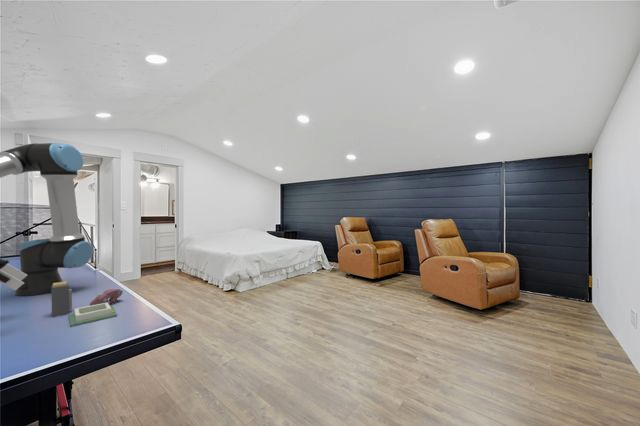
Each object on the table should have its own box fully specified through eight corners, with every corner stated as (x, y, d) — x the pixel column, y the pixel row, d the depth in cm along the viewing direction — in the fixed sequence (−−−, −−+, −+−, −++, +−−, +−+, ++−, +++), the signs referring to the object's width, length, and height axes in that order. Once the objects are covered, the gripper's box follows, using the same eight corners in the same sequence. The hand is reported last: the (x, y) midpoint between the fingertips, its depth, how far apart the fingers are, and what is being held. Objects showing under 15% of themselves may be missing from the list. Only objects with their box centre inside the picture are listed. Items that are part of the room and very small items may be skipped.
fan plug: (52, 313, 98) (51, 283, 98) (71, 309, 102) (71, 280, 101) (52, 317, 95) (51, 285, 95) (72, 312, 99) (71, 282, 98)
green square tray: (68, 315, 96) (68, 308, 96) (111, 307, 104) (111, 300, 104) (70, 326, 87) (70, 318, 87) (117, 316, 96) (117, 308, 95)
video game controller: (96, 313, 103) (103, 296, 102) (87, 306, 103) (93, 290, 103) (120, 303, 112) (126, 288, 112) (112, 298, 113) (118, 283, 112)
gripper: (-58, 246, 88) (14, 284, 98) (-87, 256, 70) (4, 301, 80) (-31, 228, 91) (35, 267, 102) (-53, 233, 73) (30, 280, 84)
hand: (22, 282), depth 91 cm, fingers open, 13 cm apart
